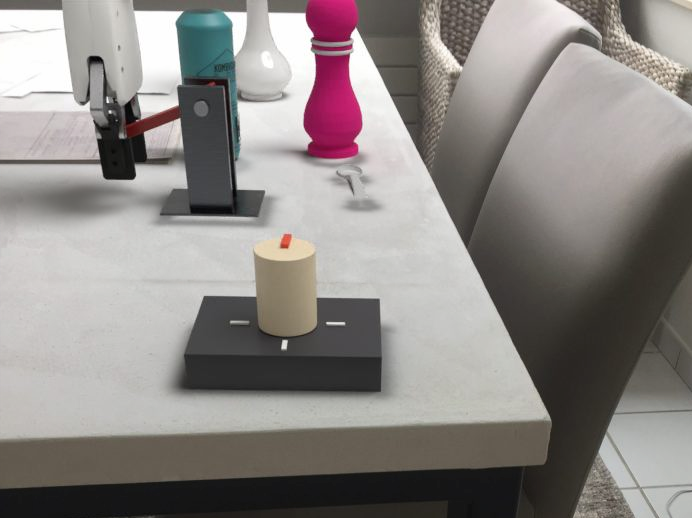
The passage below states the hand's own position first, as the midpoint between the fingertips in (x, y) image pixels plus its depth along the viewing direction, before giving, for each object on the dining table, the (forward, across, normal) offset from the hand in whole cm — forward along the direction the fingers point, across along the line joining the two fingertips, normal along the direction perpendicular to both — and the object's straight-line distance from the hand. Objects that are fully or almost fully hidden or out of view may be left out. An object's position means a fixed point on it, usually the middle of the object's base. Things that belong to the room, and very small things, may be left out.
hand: (126, 168), depth 92 cm
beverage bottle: (+5, -16, +7) cm, 18 cm away
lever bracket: (+5, 0, +9) cm, 10 cm away
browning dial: (+1, +33, +19) cm, 38 cm away
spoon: (+5, -7, +24) cm, 25 cm away
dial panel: (+5, +33, +19) cm, 38 cm away
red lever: (-4, 0, +5) cm, 6 cm away
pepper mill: (+5, -20, +21) cm, 29 cm away
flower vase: (+5, -52, +10) cm, 53 cm away
